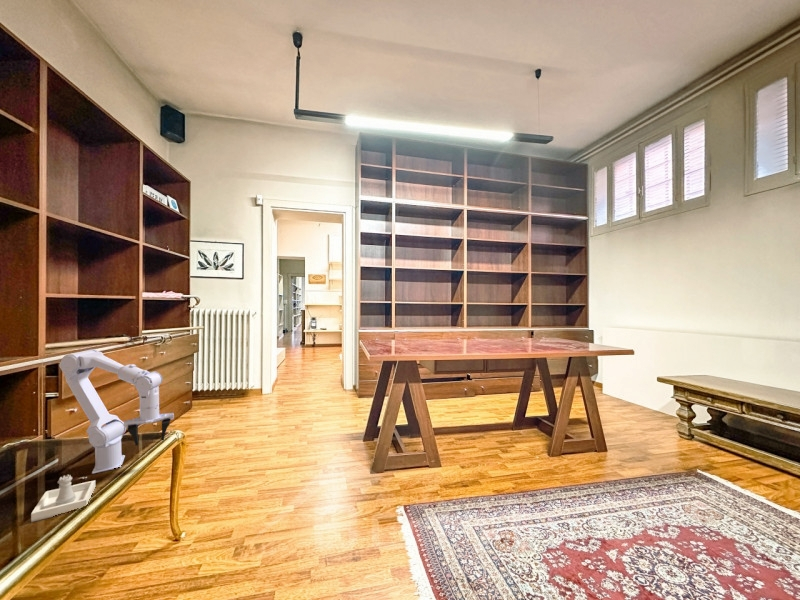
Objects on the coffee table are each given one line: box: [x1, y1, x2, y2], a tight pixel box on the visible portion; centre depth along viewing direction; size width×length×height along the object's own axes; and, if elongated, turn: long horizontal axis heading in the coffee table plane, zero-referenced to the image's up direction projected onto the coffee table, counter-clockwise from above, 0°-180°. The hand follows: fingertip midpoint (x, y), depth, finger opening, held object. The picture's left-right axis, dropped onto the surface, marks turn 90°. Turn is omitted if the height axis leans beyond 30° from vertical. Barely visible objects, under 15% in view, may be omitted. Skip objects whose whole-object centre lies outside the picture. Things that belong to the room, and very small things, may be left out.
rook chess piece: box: [56, 474, 76, 506], centre depth 101 cm, size 4×4×8 cm
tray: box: [30, 479, 97, 523], centre depth 101 cm, size 12×12×2 cm
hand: (150, 441), depth 122 cm, fingers open, 7 cm apart
